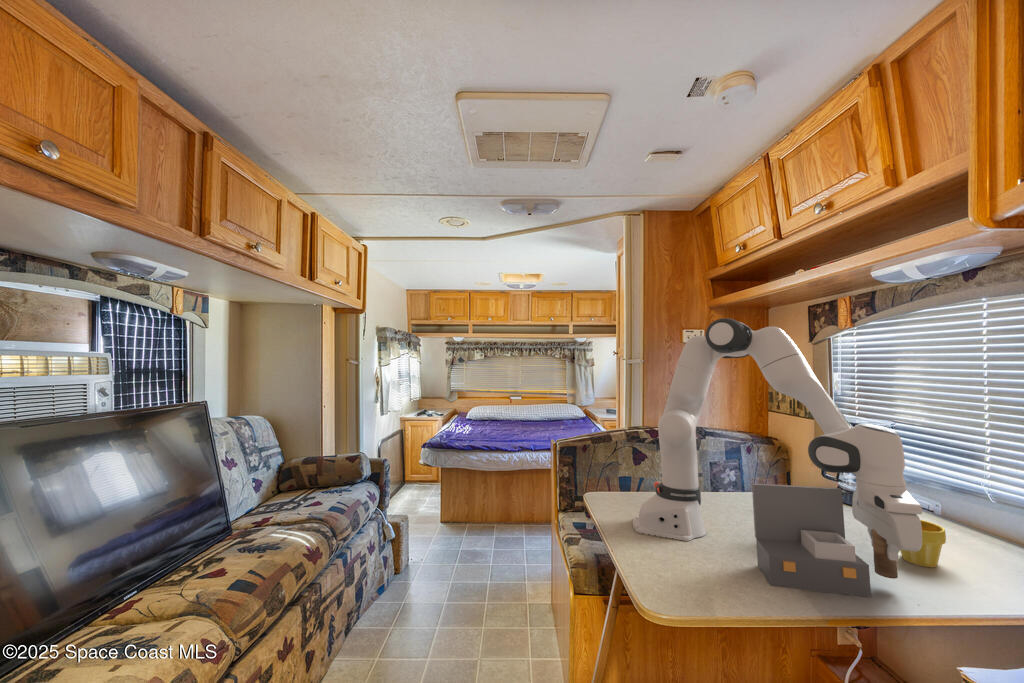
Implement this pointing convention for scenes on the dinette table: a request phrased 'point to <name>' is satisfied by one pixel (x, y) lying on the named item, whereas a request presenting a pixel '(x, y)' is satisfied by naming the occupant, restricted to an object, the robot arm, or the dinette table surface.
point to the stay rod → (883, 558)
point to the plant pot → (927, 546)
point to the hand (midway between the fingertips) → (884, 553)
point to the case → (806, 540)
